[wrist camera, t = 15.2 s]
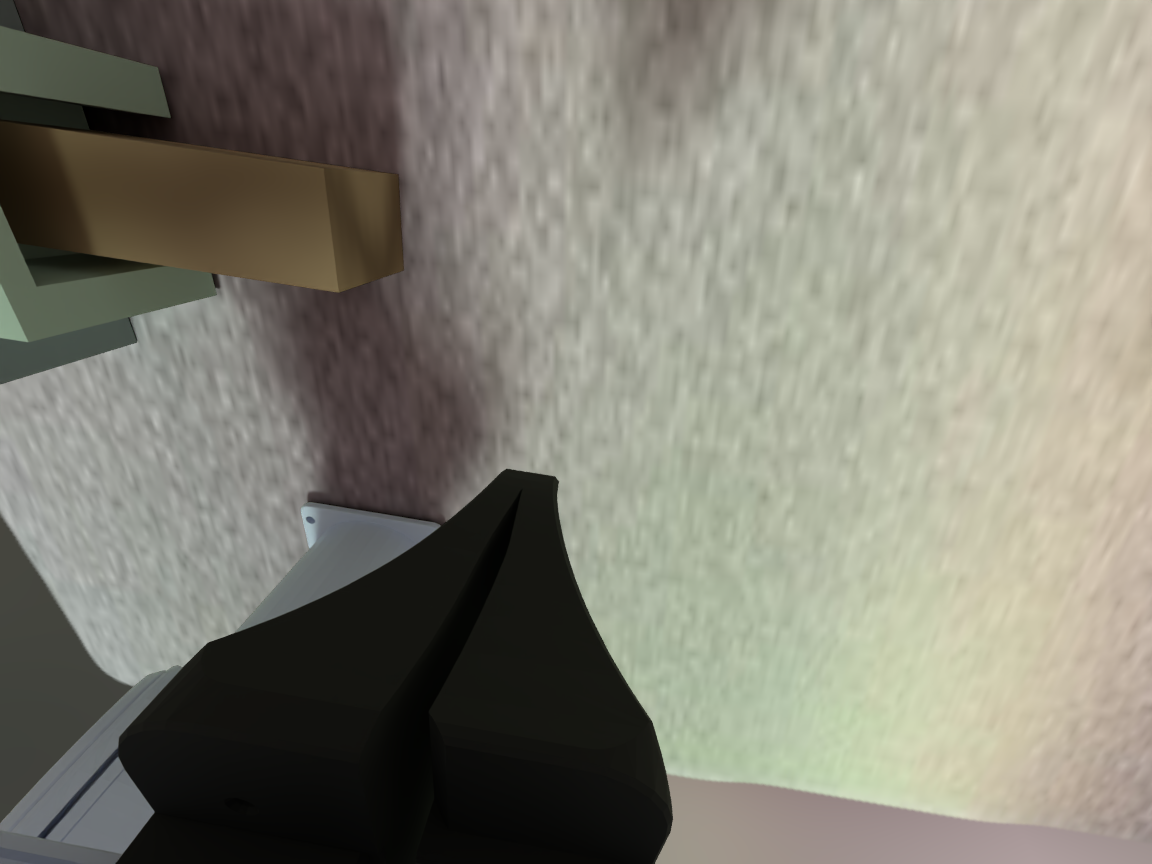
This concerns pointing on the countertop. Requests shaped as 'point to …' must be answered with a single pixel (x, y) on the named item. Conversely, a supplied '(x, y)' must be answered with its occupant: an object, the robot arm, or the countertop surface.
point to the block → (64, 278)
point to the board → (26, 358)
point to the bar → (199, 207)
